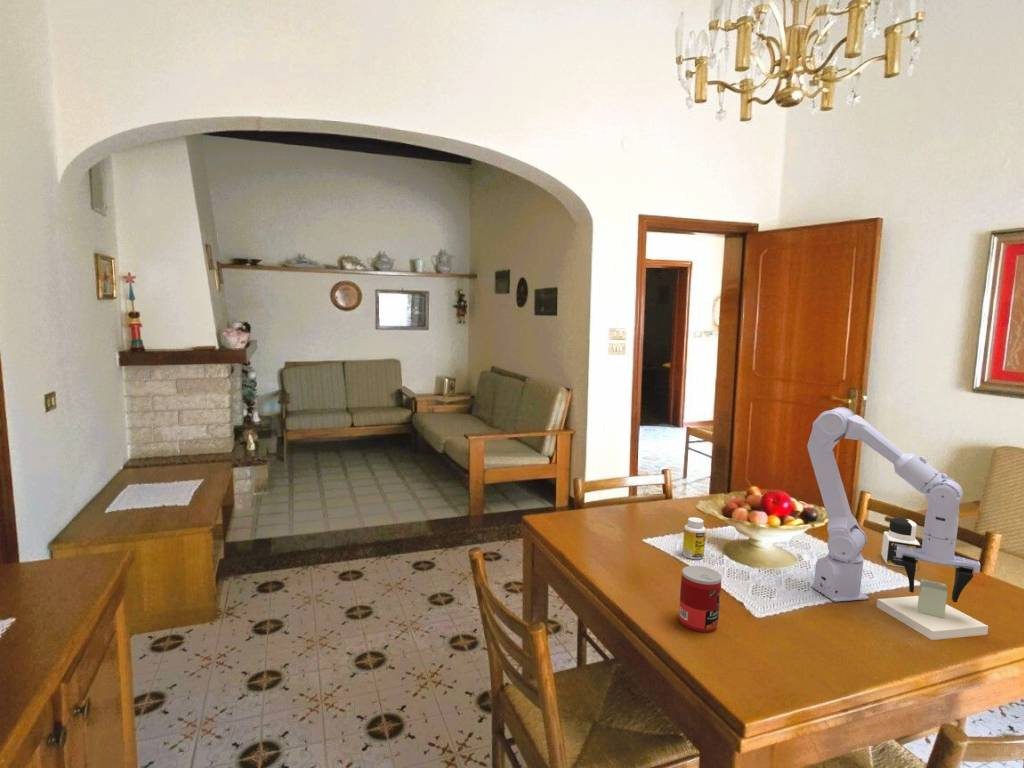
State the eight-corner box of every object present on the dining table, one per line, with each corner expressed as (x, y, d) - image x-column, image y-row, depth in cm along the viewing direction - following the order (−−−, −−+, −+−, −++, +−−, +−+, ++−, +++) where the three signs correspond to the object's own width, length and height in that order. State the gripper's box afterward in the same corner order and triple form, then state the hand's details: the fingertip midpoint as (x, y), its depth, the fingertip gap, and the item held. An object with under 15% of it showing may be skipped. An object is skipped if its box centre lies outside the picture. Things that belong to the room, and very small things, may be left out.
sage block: (944, 618, 125) (947, 591, 125) (918, 612, 128) (921, 586, 127) (942, 610, 129) (945, 584, 128) (917, 604, 131) (920, 578, 131)
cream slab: (931, 643, 120) (933, 631, 120) (876, 609, 134) (877, 599, 133) (986, 637, 123) (988, 626, 123) (927, 605, 137) (928, 594, 136)
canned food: (712, 637, 118) (717, 585, 117) (673, 625, 122) (677, 574, 121) (721, 621, 125) (725, 571, 123) (684, 610, 129) (687, 562, 128)
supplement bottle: (694, 561, 155) (697, 524, 154) (678, 554, 160) (680, 518, 159) (708, 557, 158) (711, 521, 157) (691, 550, 163) (694, 514, 162)
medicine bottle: (886, 565, 158) (891, 521, 156) (880, 555, 164) (885, 513, 163) (917, 570, 155) (922, 526, 154) (910, 560, 162) (915, 517, 160)
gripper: (979, 537, 126) (971, 597, 127) (898, 522, 133) (892, 580, 135) (984, 547, 120) (976, 610, 121) (900, 532, 127) (893, 591, 129)
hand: (932, 595), depth 128 cm, fingers open, 7 cm apart
